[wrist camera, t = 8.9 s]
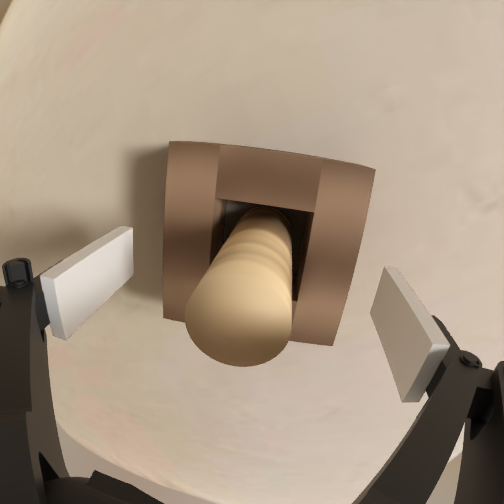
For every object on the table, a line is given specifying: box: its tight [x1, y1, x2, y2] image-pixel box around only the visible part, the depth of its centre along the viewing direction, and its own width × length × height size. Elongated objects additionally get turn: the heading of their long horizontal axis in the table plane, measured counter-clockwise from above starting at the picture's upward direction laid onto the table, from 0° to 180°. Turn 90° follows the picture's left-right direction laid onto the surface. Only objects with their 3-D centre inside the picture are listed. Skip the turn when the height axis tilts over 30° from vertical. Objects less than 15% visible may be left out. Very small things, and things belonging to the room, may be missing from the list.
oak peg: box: [185, 207, 292, 367], centre depth 17 cm, size 4×4×12 cm
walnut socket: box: [163, 141, 375, 346], centre depth 21 cm, size 12×12×4 cm
